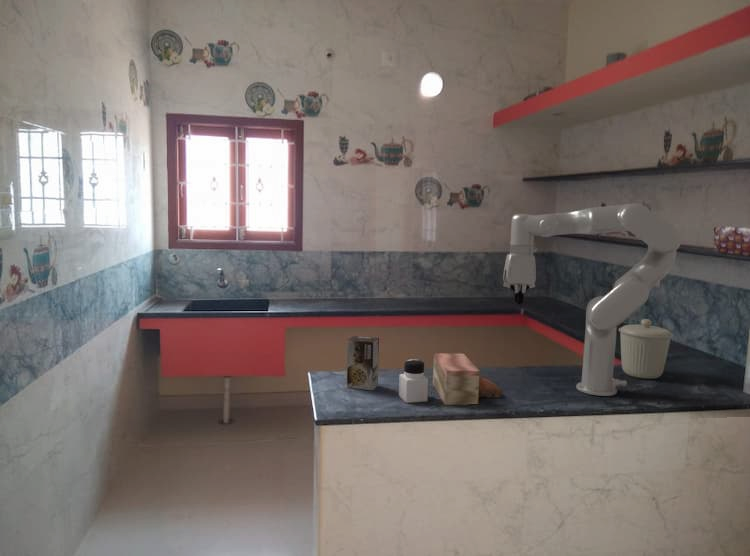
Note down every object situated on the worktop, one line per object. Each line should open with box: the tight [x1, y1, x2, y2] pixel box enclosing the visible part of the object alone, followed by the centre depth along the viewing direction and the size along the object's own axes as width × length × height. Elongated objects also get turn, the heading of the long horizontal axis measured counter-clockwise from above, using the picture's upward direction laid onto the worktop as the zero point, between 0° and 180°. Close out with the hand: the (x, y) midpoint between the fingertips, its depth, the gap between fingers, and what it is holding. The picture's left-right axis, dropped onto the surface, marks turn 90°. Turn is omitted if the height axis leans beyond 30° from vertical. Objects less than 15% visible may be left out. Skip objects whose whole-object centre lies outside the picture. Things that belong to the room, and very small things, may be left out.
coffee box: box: [346, 335, 380, 391], centre depth 187 cm, size 9×6×16 cm
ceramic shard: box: [478, 376, 504, 399], centre depth 185 cm, size 15×6×15 cm
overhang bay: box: [432, 352, 481, 406], centre depth 182 cm, size 10×21×10 cm, turn 5°
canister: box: [618, 318, 674, 380], centre depth 210 cm, size 18×18×21 cm
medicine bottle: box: [398, 358, 430, 404], centre depth 176 cm, size 7×7×12 cm
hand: (518, 304), depth 196 cm, fingers closed
